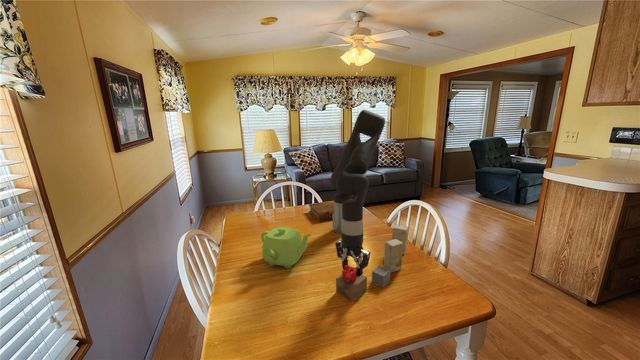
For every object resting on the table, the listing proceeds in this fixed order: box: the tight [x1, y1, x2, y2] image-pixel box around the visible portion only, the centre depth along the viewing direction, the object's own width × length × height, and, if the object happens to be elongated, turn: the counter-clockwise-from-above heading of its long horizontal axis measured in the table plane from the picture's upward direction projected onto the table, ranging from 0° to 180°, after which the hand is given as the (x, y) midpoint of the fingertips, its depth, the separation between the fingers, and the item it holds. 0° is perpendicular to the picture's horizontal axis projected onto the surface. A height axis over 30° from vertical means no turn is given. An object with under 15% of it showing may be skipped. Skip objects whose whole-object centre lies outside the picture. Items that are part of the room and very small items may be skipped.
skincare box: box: [383, 239, 403, 274], centre depth 111 cm, size 6×4×12 cm
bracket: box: [341, 264, 357, 281], centre depth 97 cm, size 6×5×3 cm
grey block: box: [371, 265, 391, 289], centre depth 104 cm, size 5×5×5 cm
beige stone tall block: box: [391, 224, 409, 255], centre depth 125 cm, size 6×4×12 cm
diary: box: [308, 199, 334, 223], centre depth 173 cm, size 23×19×6 cm
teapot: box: [260, 226, 313, 270], centre depth 116 cm, size 25×22×16 cm
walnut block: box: [335, 272, 368, 303], centre depth 99 cm, size 8×8×6 cm
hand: (352, 272), depth 98 cm, fingers closed on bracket, 5 cm apart
